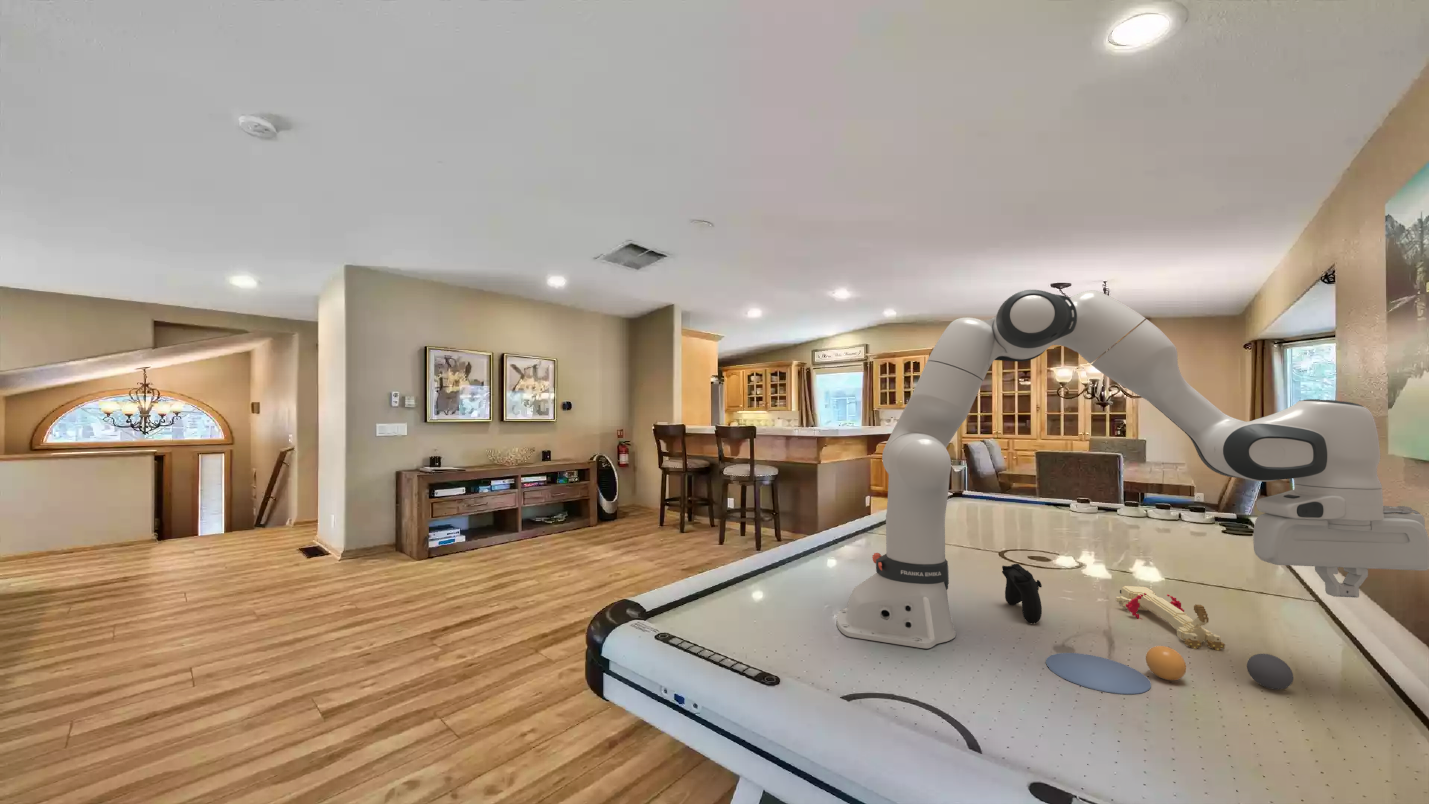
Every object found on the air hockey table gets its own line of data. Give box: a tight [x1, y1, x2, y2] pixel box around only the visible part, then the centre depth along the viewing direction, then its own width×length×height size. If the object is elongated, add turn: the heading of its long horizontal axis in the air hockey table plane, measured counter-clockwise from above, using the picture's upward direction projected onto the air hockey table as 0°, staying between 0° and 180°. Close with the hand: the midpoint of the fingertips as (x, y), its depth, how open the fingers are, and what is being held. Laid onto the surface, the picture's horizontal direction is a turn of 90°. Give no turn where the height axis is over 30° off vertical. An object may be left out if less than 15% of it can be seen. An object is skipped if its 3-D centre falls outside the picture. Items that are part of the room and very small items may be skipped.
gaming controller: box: [1001, 563, 1043, 625], centre depth 115 cm, size 14×6×10 cm, turn 168°
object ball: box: [1145, 645, 1187, 681], centre depth 86 cm, size 5×5×5 cm
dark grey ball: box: [1246, 653, 1294, 691], centre depth 83 cm, size 5×5×5 cm
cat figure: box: [1115, 585, 1226, 651], centre depth 109 cm, size 10×9×25 cm
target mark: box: [1045, 652, 1152, 695], centre depth 88 cm, size 14×14×1 cm
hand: (1342, 596), depth 81 cm, fingers closed
